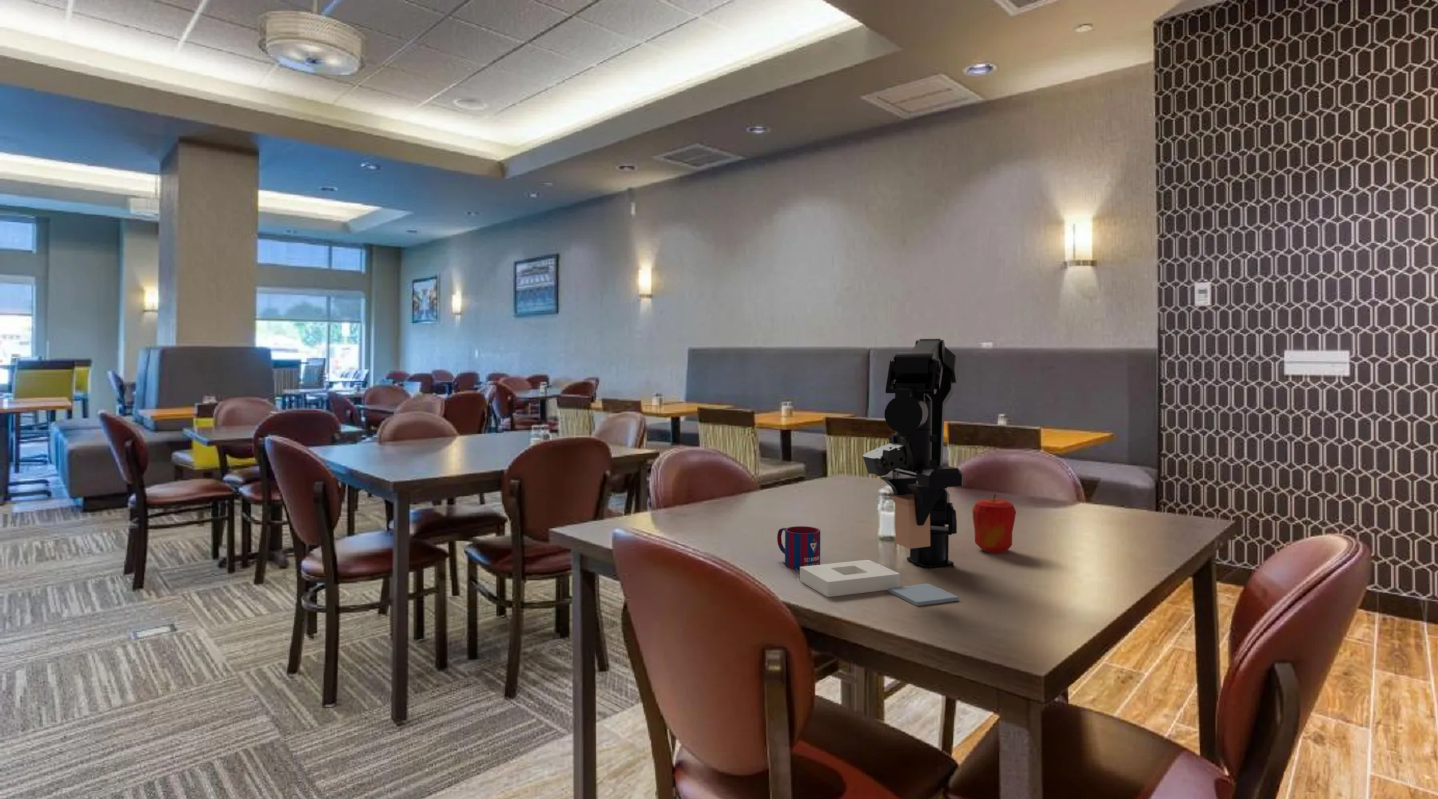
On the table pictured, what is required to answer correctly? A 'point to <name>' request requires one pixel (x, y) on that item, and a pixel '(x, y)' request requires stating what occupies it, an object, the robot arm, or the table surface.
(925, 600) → the pad
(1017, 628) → the table surface
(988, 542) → the apple
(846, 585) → the white flat block
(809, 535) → the mug
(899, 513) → the plug
